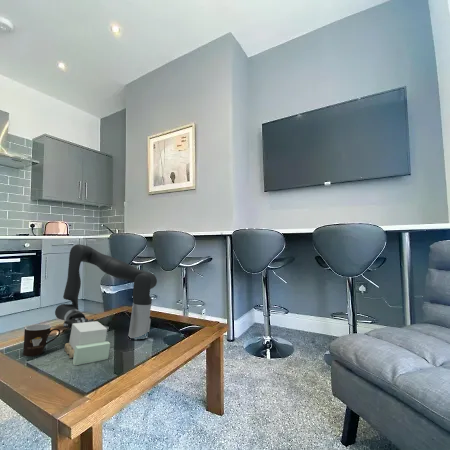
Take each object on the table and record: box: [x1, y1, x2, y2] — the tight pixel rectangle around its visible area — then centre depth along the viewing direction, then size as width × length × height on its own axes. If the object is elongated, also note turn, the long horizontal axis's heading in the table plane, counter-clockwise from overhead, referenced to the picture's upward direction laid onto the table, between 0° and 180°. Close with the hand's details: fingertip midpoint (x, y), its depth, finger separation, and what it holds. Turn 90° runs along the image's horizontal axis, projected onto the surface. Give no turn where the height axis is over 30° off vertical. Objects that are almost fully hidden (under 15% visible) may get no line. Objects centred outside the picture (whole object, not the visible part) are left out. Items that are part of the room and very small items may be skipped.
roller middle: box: [65, 346, 73, 355], centre depth 105 cm, size 12×3×3 cm
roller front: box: [68, 349, 74, 359], centre depth 101 cm, size 12×3×3 cm
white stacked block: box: [68, 320, 108, 351], centre depth 103 cm, size 10×13×8 cm
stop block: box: [72, 340, 111, 366], centre depth 97 cm, size 12×3×6 cm, turn 134°
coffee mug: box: [22, 323, 61, 357], centre depth 99 cm, size 12×9×10 cm
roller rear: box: [64, 342, 71, 352], centre depth 107 cm, size 12×3×3 cm, turn 134°
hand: (84, 328), depth 108 cm, fingers closed
